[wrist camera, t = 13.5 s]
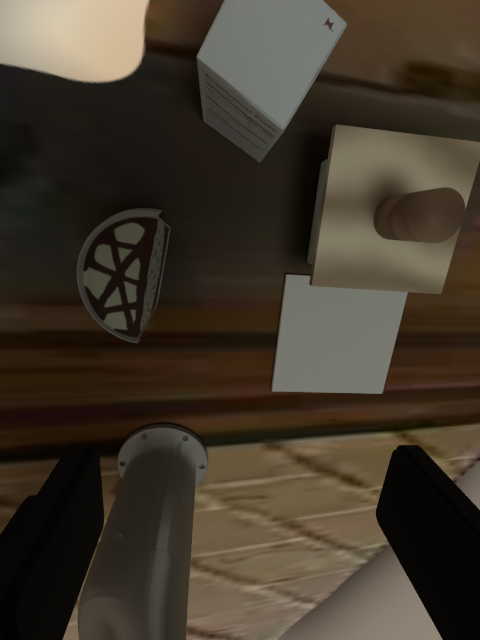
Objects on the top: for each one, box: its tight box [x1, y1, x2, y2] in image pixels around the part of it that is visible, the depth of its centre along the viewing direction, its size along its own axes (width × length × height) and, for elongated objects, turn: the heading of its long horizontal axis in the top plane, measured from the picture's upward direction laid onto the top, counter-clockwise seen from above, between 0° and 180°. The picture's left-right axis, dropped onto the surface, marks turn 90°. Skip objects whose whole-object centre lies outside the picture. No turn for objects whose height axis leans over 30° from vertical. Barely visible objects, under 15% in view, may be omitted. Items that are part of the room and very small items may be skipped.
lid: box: [309, 125, 480, 294], centre depth 26 cm, size 14×14×7 cm
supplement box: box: [197, 0, 347, 163], centre depth 25 cm, size 7×7×13 cm
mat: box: [271, 274, 408, 394], centre depth 39 cm, size 16×16×1 cm
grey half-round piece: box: [77, 208, 171, 343], centre depth 30 cm, size 12×6×10 cm, turn 166°
